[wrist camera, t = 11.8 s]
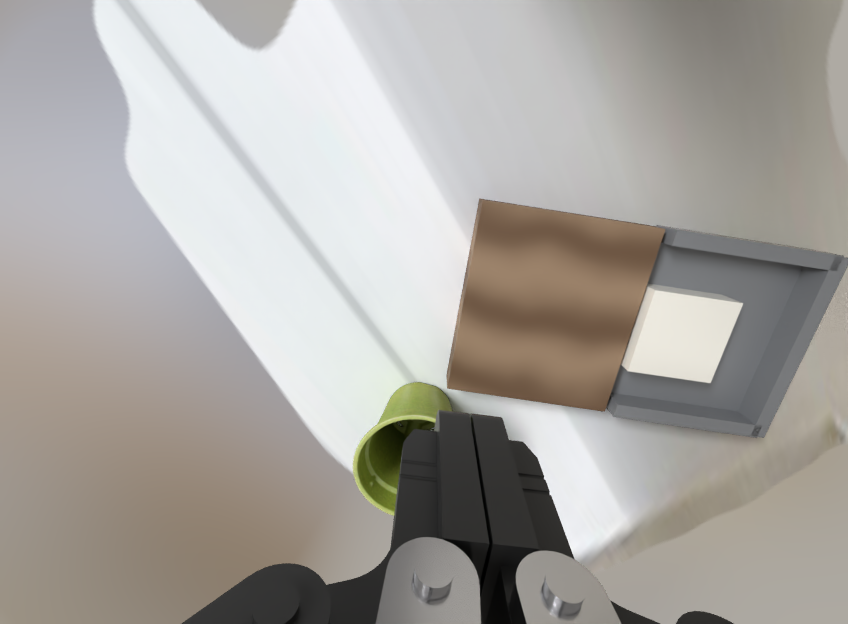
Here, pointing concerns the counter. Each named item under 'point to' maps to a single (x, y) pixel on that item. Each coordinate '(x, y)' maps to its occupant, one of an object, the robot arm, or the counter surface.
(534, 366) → the brown square board
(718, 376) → the tray
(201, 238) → the counter surface
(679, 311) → the tile
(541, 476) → the robot arm
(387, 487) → the plant pot
